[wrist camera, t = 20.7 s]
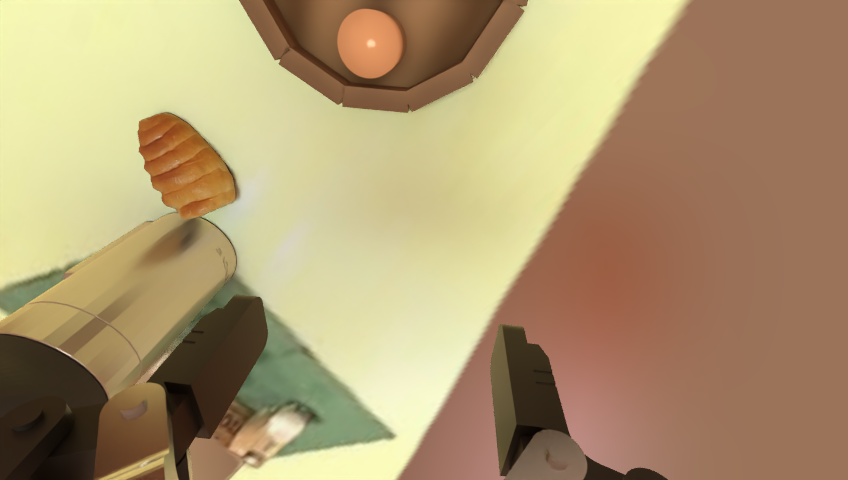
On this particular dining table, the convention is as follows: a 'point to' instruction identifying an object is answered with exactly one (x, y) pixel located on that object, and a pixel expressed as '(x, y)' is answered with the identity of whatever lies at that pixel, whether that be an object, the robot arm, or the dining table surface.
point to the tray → (424, 58)
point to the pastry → (184, 166)
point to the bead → (371, 42)
